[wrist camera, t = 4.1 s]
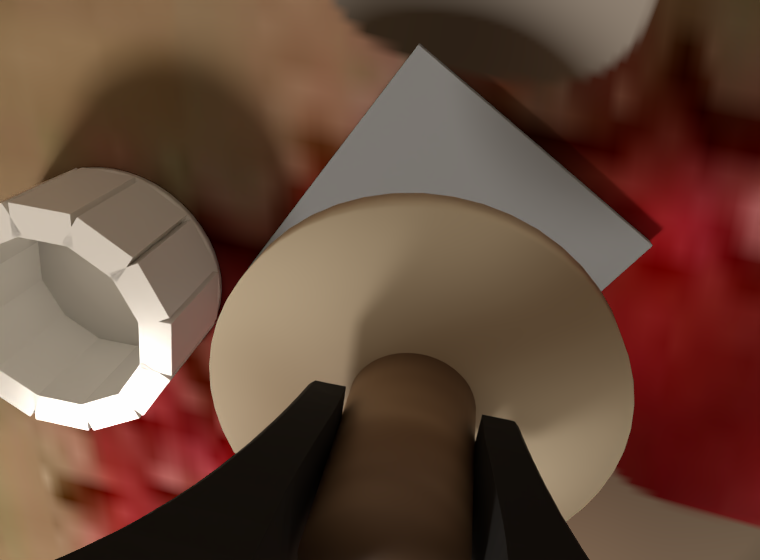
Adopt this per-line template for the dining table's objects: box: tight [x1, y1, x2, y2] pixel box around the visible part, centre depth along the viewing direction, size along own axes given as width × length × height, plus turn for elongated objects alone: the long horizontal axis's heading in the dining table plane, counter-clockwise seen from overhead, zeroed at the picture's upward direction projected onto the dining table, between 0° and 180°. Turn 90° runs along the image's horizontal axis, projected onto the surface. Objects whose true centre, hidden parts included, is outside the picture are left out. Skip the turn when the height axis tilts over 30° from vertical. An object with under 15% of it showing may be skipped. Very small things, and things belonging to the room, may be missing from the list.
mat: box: [249, 44, 652, 291], centre depth 20 cm, size 9×9×1 cm
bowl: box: [0, 167, 222, 430], centre depth 21 cm, size 8×8×4 cm
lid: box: [209, 193, 634, 560], centre depth 12 cm, size 9×9×5 cm
